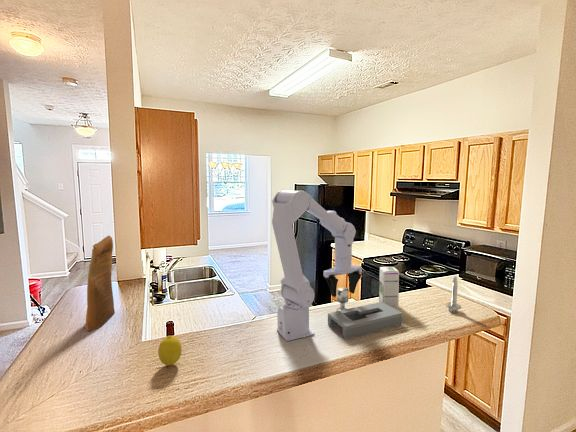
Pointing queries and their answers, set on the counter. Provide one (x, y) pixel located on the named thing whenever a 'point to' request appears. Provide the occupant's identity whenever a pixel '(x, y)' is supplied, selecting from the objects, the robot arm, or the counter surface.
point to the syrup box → (389, 286)
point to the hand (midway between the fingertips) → (342, 294)
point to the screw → (454, 298)
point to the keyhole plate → (365, 319)
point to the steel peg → (342, 297)
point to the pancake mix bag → (100, 285)
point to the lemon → (169, 350)
